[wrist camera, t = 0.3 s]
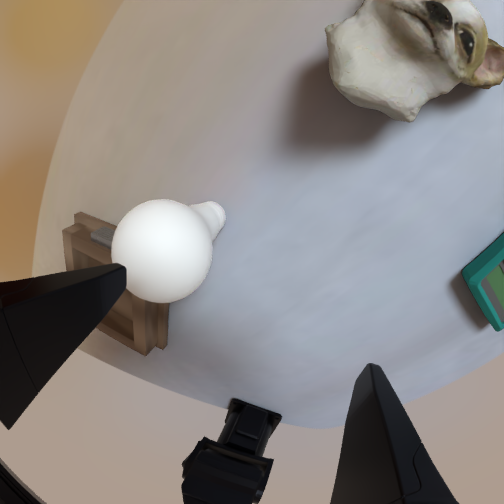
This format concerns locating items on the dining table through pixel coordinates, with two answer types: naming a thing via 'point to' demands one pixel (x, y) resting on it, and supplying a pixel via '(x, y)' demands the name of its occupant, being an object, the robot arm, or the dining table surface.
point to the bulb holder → (128, 305)
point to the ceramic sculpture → (411, 54)
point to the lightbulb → (167, 247)
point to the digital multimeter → (488, 282)
